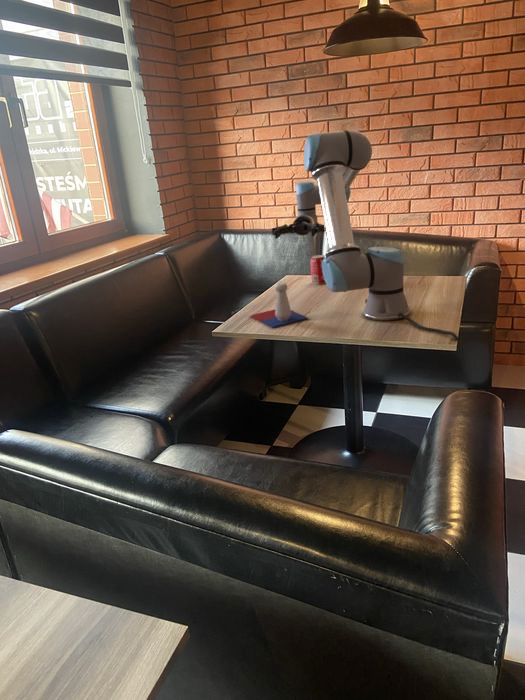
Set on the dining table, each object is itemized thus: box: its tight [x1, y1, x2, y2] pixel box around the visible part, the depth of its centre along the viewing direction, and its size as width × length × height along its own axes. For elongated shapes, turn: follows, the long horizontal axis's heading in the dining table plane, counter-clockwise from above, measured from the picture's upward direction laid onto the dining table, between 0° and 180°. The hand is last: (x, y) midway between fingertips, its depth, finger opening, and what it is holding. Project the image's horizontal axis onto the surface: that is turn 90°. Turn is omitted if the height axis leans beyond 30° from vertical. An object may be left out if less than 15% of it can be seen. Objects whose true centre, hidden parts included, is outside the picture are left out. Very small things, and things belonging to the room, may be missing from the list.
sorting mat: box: [250, 308, 308, 329], centre depth 195 cm, size 18×14×1 cm
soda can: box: [309, 254, 326, 285], centre depth 235 cm, size 7×7×12 cm
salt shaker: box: [274, 282, 292, 321], centre depth 189 cm, size 6×6×13 cm
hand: (294, 233), depth 196 cm, fingers open, 13 cm apart
